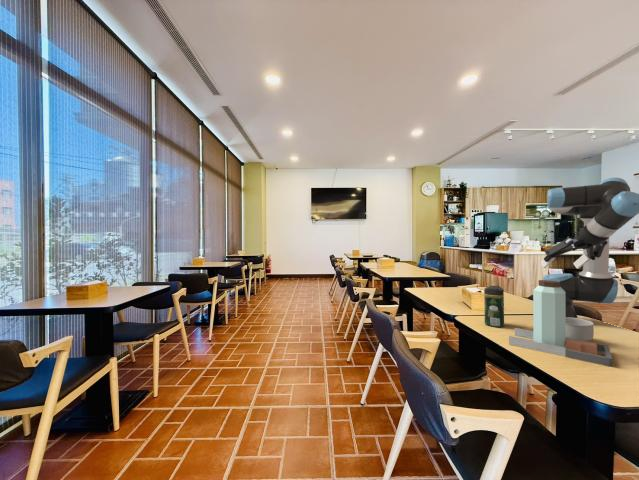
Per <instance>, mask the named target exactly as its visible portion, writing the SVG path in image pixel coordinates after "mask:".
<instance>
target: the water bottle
mask: <svg viewBox="0 0 639 480" xmlns="http://www.w3.org/2000/svg"><path fill="white" fill-rule="evenodd" d="M532 290H533V291H532V293H533V294H532V297H533V298H532V301H533V308H532V309H533V315H532V316H533V317H532V320H533V325H532V326H533V328H532V329H533V330H532V331H533V339H532V340H533V341H538V342H543V343H548V344H553V345H558V346H564V347H566V310H565V291H564V290H563V289H562V288H561V287H560V282H559V281H551V280H543V279H539V280H538V285H537V286H536V287H534V289H532Z"/></svg>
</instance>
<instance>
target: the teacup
mask: <svg viewBox="0 0 639 480" xmlns="http://www.w3.org/2000/svg"><path fill="white" fill-rule="evenodd" d="M594 325H595V323H594V322H593V321H590V320H588V319H585V318H584V319H583V318H569V317H566V337H567V338H570V339H576V340H581V341H587V342H591V341H592V340H593V338H594V334H595V332H594Z"/></svg>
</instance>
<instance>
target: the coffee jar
mask: <svg viewBox="0 0 639 480" xmlns="http://www.w3.org/2000/svg"><path fill="white" fill-rule="evenodd" d="M504 294H505V293H504V288H502V287H501V286H500V285H489V286H486V287H485V288H484V295H483V297H484V299H483V300H484V301H483V302H484V324H485V325H486V326H489V327H492V328H497V327H498V328H502V327H503V326H504V325H505V305H504V304H505V300H504V299H505V298H504V297H505V295H504Z"/></svg>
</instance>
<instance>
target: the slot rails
mask: <svg viewBox="0 0 639 480" xmlns="http://www.w3.org/2000/svg"><path fill="white" fill-rule="evenodd" d="M566 339H567V337H566ZM508 345H510V346H514V347H519V348H525V349H529V350H532V351H533V350H534V351H539V352H543V353H548V354H552V355H557V356H561V357H565V349H566V346H565V347H564V346H558V345H553V344H548V343H543V342H538V341H533V330H530V329H524V328H519V327H514V336H513V335H512V336H511V335H509V336H508Z"/></svg>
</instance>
